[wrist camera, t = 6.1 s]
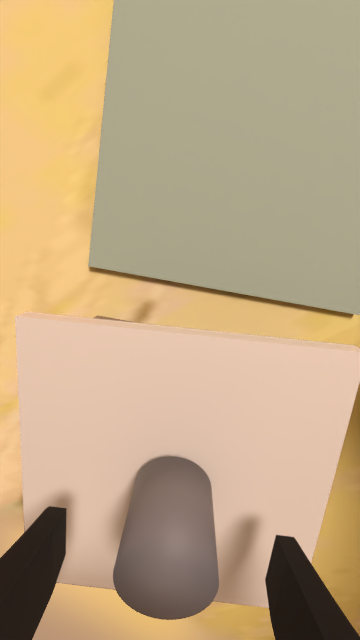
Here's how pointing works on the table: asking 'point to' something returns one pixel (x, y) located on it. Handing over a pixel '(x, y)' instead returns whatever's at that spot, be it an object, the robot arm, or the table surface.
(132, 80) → the mat
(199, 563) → the lid
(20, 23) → the table surface
